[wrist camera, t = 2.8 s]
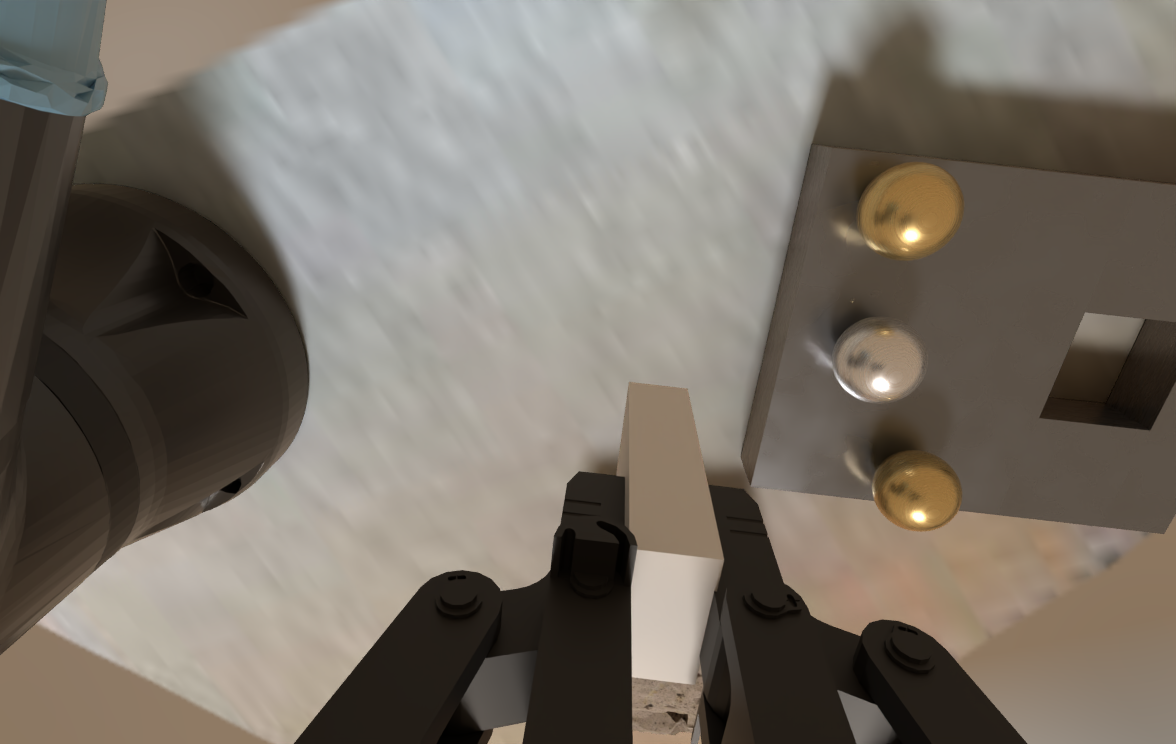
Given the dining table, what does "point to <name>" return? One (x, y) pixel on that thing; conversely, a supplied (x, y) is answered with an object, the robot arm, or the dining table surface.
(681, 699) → the stone
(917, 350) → the steel ball
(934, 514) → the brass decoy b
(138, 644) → the dining table surface
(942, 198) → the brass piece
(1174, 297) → the plate
